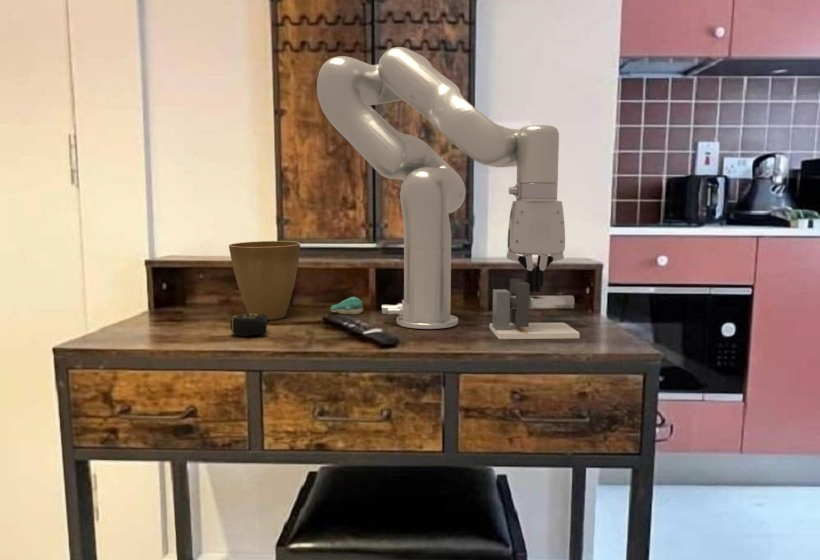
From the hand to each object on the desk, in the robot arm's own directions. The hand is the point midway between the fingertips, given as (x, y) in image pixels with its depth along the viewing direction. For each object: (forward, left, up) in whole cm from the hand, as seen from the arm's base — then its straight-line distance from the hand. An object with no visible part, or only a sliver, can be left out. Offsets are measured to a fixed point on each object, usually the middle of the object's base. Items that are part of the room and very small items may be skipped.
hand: (534, 290), depth 124 cm
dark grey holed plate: (-3, 0, -6) cm, 7 cm away
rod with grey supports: (0, 0, -8) cm, 8 cm away
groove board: (0, 0, -8) cm, 8 cm away
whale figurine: (-37, +24, -9) cm, 44 cm away
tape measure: (-53, +2, -9) cm, 54 cm away
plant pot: (-54, +19, -8) cm, 57 cm away
